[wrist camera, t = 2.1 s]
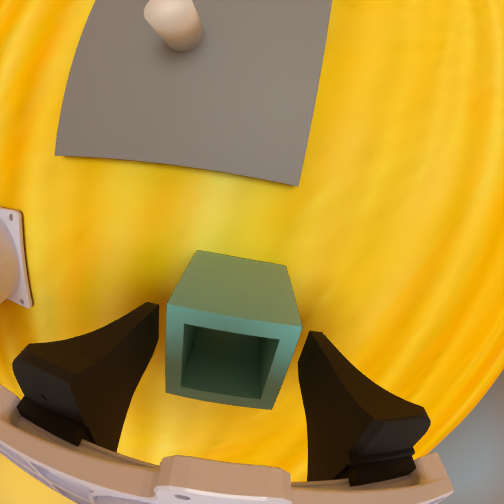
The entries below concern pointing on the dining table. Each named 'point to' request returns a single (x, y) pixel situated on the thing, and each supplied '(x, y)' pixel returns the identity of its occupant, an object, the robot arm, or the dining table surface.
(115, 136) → the stub board
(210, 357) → the sleeve
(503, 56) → the dining table surface
